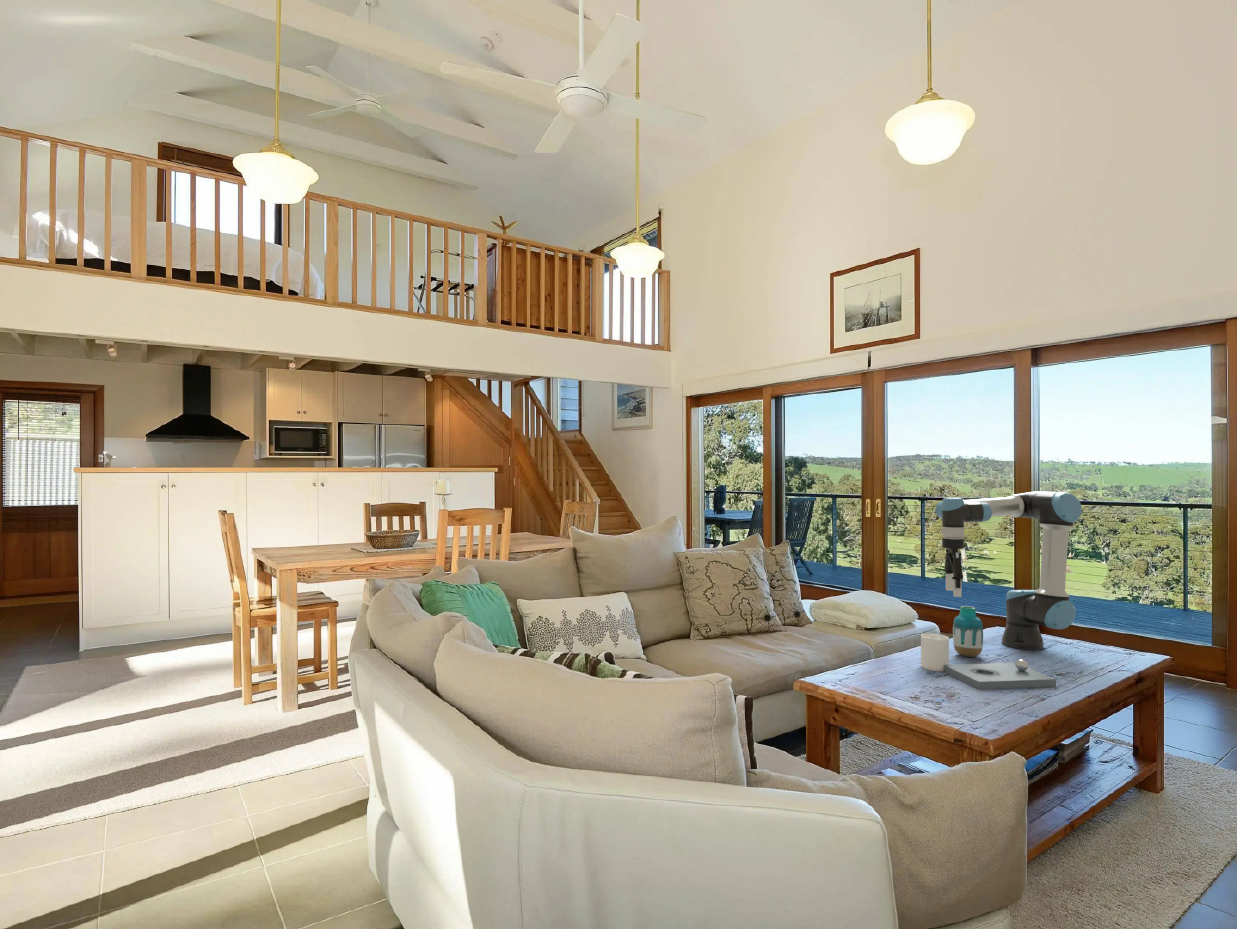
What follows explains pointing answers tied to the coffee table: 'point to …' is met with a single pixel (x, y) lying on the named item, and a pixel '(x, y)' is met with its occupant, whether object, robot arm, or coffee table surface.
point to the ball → (1021, 665)
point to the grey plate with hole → (998, 676)
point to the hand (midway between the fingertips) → (953, 593)
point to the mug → (934, 651)
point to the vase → (968, 632)
